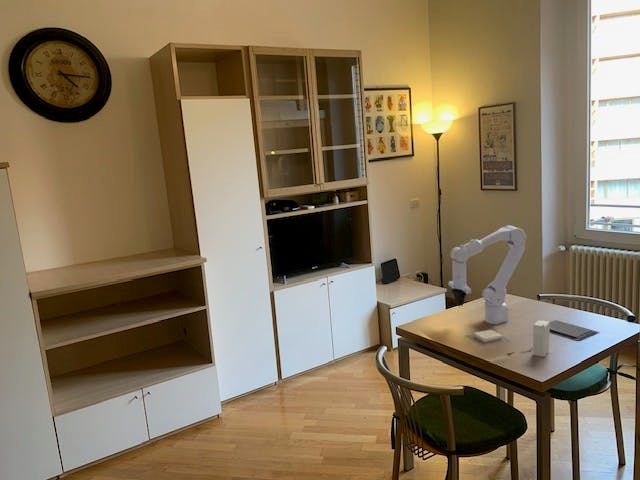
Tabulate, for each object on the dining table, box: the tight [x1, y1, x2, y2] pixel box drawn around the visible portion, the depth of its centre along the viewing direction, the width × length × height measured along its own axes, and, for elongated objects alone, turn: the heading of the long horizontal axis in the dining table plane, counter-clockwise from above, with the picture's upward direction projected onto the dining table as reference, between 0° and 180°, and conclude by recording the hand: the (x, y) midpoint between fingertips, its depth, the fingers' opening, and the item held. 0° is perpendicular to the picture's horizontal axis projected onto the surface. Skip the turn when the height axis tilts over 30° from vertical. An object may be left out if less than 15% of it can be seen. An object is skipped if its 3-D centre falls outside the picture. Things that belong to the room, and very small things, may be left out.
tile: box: [473, 329, 503, 343], centre depth 203 cm, size 8×2×7 cm
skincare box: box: [532, 320, 551, 358], centre depth 188 cm, size 6×4×12 cm
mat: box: [465, 333, 511, 347], centre depth 204 cm, size 13×12×1 cm
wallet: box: [549, 319, 600, 342], centre depth 209 cm, size 20×2×15 cm
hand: (459, 305), depth 219 cm, fingers closed
